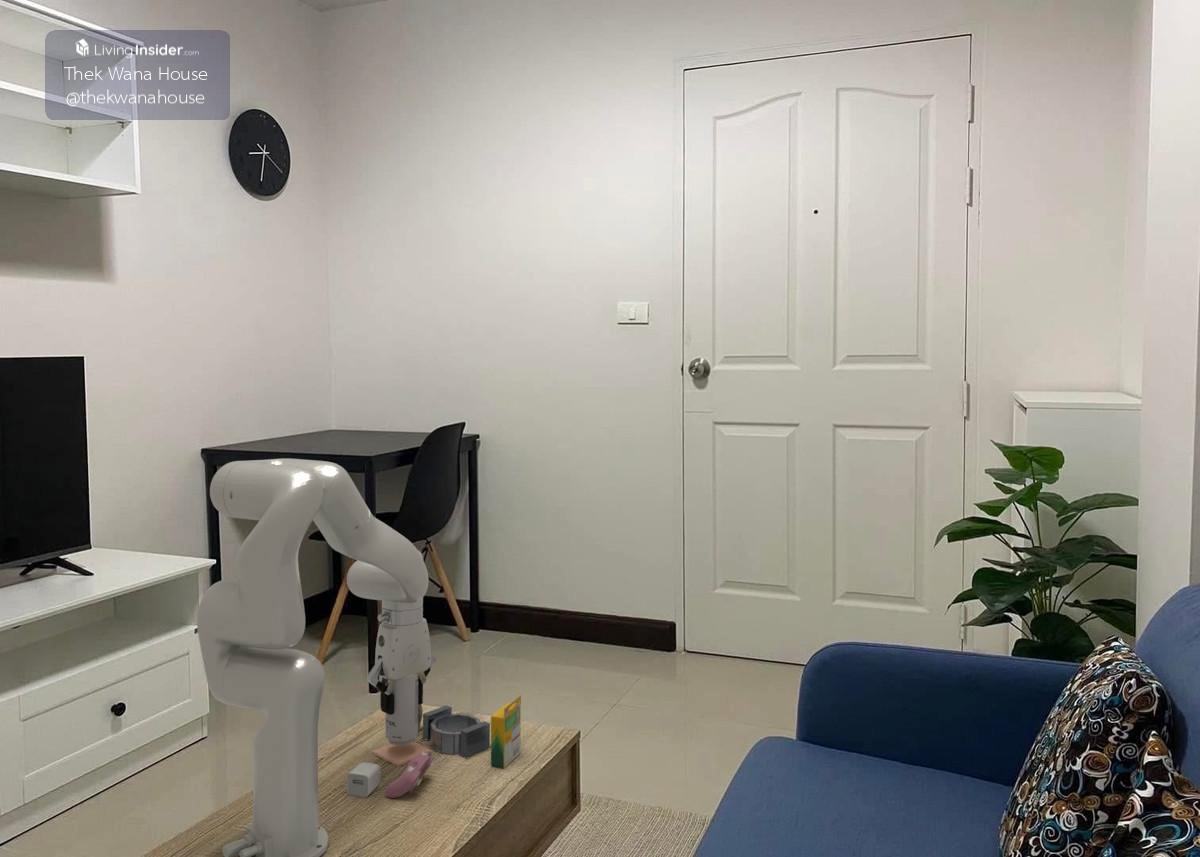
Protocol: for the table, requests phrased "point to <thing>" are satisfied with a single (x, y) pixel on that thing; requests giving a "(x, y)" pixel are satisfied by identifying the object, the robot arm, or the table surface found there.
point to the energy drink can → (403, 712)
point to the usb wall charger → (363, 779)
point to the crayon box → (506, 734)
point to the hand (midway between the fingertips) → (402, 706)
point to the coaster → (400, 753)
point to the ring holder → (455, 732)
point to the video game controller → (410, 775)
